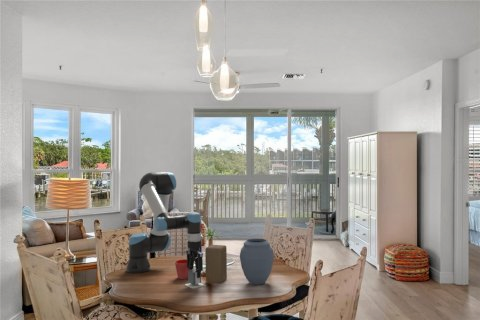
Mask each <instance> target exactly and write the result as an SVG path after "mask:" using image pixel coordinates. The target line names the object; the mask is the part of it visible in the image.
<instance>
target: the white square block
mask: <svg viewBox="0 0 480 320" xmlns="http://www.w3.org/2000/svg"><path fill="white" fill-rule="evenodd" d="M184 286H185V287H187V288H190V289H197V288H201V287H205V286H206V285H205V284H203V283H202V282H201V283H198V284H194V285H193V284H190V283H185V284H184Z"/></svg>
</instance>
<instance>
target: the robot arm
mask: <svg viewBox="0 0 480 320" xmlns="http://www.w3.org/2000/svg"><path fill="white" fill-rule="evenodd" d="M138 185H139V186H138V187H139V191H140V193H141V194H142V196H144V198H145V199H146V201H147V203H148V206H149V207H150V210H151V212H152V214H153V222H152V223H153V225H152V229H150V232H149V234H148V233H147V232H138V233H135V234H132V235H130V236H129V238H128V261H127V265H126V272H127V273H129V274H141V273H147V272H150V270H151V264H150V261H149V257H148V253H157V252H163V251H167V250H168V249H169V248H170V246H171V234H170V233H169V232H168V231H171V230H183V229H186V231H187V233H186V234H187V248H188V249H187V250H185V252H186V259H187V268H189V271H190V270H195V269H196V271H195V284H198V283H200V271H201V272H203V270H204V267H203V266H204V265H203V264H204V263H203V262H204V261H203V256H204V253H203V252H201V251H200V248H201V247H202V226H201V225H202V223H201V222H202V219H201V213H200V212H189V213H187V214H180V215H173V216H172V215H171V216H170V215H169V201H170V196H171V195H172V194H173V191H175V190H176V188H177V180H176V176H175V175H174V173H172V171H171V172H167V171H161V172H159V171H158V172H152V171H151V172H148V173H145V174H144V175H143V176H142V177H141V178H140V180H139V184H138Z"/></svg>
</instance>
